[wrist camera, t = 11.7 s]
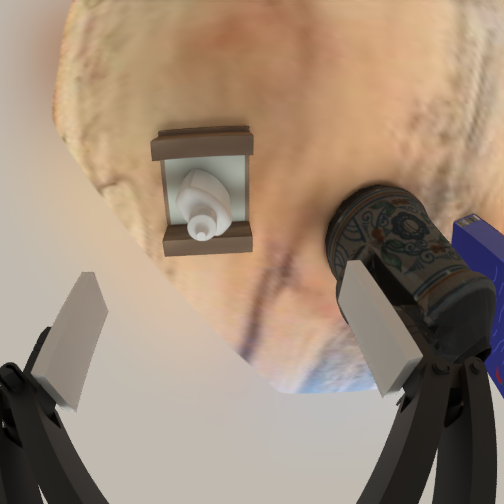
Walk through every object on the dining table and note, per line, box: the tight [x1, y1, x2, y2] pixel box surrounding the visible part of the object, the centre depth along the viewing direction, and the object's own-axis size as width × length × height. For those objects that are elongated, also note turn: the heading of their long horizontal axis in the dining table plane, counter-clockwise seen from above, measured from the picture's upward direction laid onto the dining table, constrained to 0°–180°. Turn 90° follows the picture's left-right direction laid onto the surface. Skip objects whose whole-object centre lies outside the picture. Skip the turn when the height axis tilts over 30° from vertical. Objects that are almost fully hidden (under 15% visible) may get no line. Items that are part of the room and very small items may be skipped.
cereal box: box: [451, 214, 504, 398], centre depth 32 cm, size 22×6×30 cm, turn 17°
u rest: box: [150, 126, 253, 257], centre depth 30 cm, size 14×10×5 cm
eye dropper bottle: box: [175, 169, 232, 241], centre depth 26 cm, size 4×6×12 cm
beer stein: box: [325, 185, 496, 364], centre depth 28 cm, size 16×19×25 cm
